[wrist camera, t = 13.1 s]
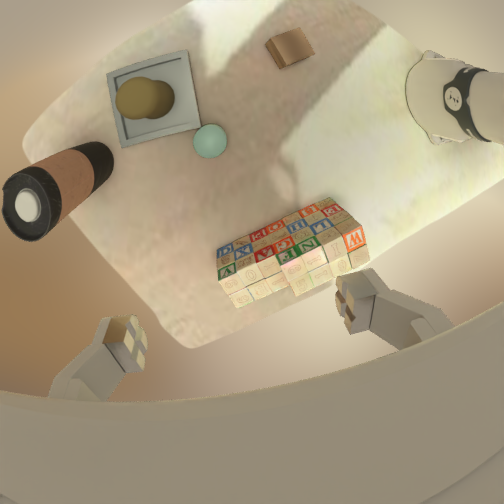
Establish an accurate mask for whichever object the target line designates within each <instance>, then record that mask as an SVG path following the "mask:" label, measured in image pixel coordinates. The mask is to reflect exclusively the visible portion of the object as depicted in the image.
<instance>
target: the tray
mask: <svg viewBox="0 0 504 504" xmlns="http://www.w3.org/2000/svg"><path fill="white" fill-rule="evenodd" d="M106 75H107V81H108V87H109V92H110V98H111V103H112V108H113V113H114V118H115V122H116V127H117V131H118V136H119V140H120V144H121V148H124V147H127V146H131V145H134V144H137V143H141V142H144V141H148V140H151V139H155V138H159V137H162V136H166V135H170V134H174V133H178V132H183V131H187V130H191V129H196V128H200V127H202V126H201V121H200V115H199V110H198V105H197V99H196V94H195V88H194V83H193V77H192V71H191V66H190V60H189V54H188V51H187V50H182V51H178V52H174V53H170V54H166V55H162V56H159V57H155V58H152V59H148V60H145V61H142V62H138V63H135V64H132V65H129V66H126V67H124V68H121V69H118V70H115V71H113V72H110V73H107V74H106ZM140 76H143V77H146V78H149V79H151V80H161V81H164V82H166V83H168V84H169V85H170V86H171V87H172V89H173V90H174V94H175V102H174V105H173V107H172V109H171V110H170V111H169V113H168V114H166V115H165V116H163V117H161V118H158V119H148V118H142V119H139V120H131V119H128V118H125V117H124V116H123V115H121V114H120V113H119V111H118V110H117V108H116V104H115V98H116V94H117V91H118V89H119V88H120V86H121V85H122V84H123V83H124V82H126V81H127V80H128V79H131V78H134V77H140Z"/></svg>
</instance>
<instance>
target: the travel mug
mask: <svg viewBox="0 0 504 504" xmlns="http://www.w3.org/2000/svg"><path fill="white" fill-rule="evenodd" d="M113 165H114V161H113V156H112V153H111V151H110V150H109V148H108V147H107V146H105V145H104V144H102V143H100V142H89V143H86V144H82V145H79V146H76V147H73V148H70V149H66V150H64V151H61V152H59V153H56V154H54V155H52V156H50V157H48V158H45V159H43V160H41V161H39V162H37V163H35V164H33V165H31V166H29V167H27V168H25V169H23V170H21V171H19V172H17V173H15V174H13V175H12V176H11V177H10V178H8V180H7V181H6V182H5V184H4V186H3V188H2V190H3V192H4V196H3V207H2V215H3V218H4V220H5V222H6V224H7V226H8V227H9V229H10V230H11V231H12V232H13V234H15V235H16V236H17V237H18V238H20V239H22V240H24V241H29V242H33V241H37V240H39V239H41V238H43V237H44V236H45V235H46V234H47V233H48V232H49V231H50V230H51V229H52V228H53V227H55V226H56V225H57V224H58V223H59V222H60V221H61V220H62V219H63V218H64V217H65V216H67V215H68V214H69V213H70V212H71V211H72V210H74V209H75V208H76V207H77V206H78V205H79V204H81V203H82V202H83V201H84V200H85V199H86V198H88V197H89V196H90V195H91V194H92V193H93V192H94V191H95V190H96V189H97V188H98V187H99V186H100V185H102V184H103V183H104V182H105V181H106V180H107V179H108V178H109V176H110V175H111V173H112V170H113Z"/></svg>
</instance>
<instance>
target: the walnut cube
mask: <svg viewBox="0 0 504 504" xmlns="http://www.w3.org/2000/svg"><path fill="white" fill-rule="evenodd" d="M265 45H266V47H267V48H268V50H269V52H270V53H271V55H272V57H273V58H274V60H275V62H276V63H277V65H278V67H279V69H281V68H283V67H286V66H288V65H290V64H293V63H295V62H298V61H300V60H303V59H305V58H308V57H310V56H312V55H314V54H315V53H314V51H313V49H312V47H311V45H310V44H309V42H308V40H307V39H306V37H305V35H304V33H303V32H302V30H301V29H300V27H299V28H297V29H294V30H291V31H288V32H285V33H283V34H280V35H277V36H275V37H272V38H270V40H269V41H268V42H267V43H266V44H265Z"/></svg>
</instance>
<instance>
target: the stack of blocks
mask: <svg viewBox="0 0 504 504" xmlns="http://www.w3.org/2000/svg"><path fill="white" fill-rule="evenodd" d="M368 261H370V257H369V252H368V248H367V244H366V240H365V236H364V232H363V228H362V226H361V225H360V224H359V223H358V222H357V221H356V220H355V219H354V218H353V217H352V216H351V215H350V214H349V213H347V212H346V211H345V210H344V209H343V208H341V207H340V206H339V205H338V204H336V202H335V201H333V200H332V199H331V198H327V199H325V200H322V201H320V202H318V203H316V204H312V205H310V206H308V207H306V208H304V209H302V210H299V211H297V212H295V213H293V214H290V215H288V216H286V217H284V218H282V219H281V220H279V221H277V222H275V223H273V224H271V225H268V226H266V227H265V228H263V229H261V230H258V231H256V232H254V233H252V234H250V235H247V236H245V237H242V238H240V239H238V240H236V241H234V242H233V243H230V244H228V245H226V246H224V247H222V248H220V249H218V250H217V270H218V282H219V283H220V285H221V286H222V287H223V289H224V290H225V292H226V293H227V295H228V296H229V297H230V299H231V300H232V302H233V303H234V305H235V306H236V307H237V308H240V307H242V306H244V305H246V304H249V303H251V302H253V301H254V300H255V301H256V300H258V299H261V298H263V297H265V296H267V295H270V294H272V293H274V292H276V291H278V290H281V289H283V288H285V287H287V286H288V285H290V286H291V288H292V290H293V292H294V294H295V296H298V295H301V294H303V293H305V292H307V291H309V290H311V289H313V288H314V287H317V286H319V285H321V284H323V283H325V282H327V281H329V280H331V279H333V278H336V277H337V276H340V275H342V274H344V273H346V272H348V271H350V270H351V269H354V268H356V267H358V266H360V265H362V264H364V263H366V262H368Z"/></svg>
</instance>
